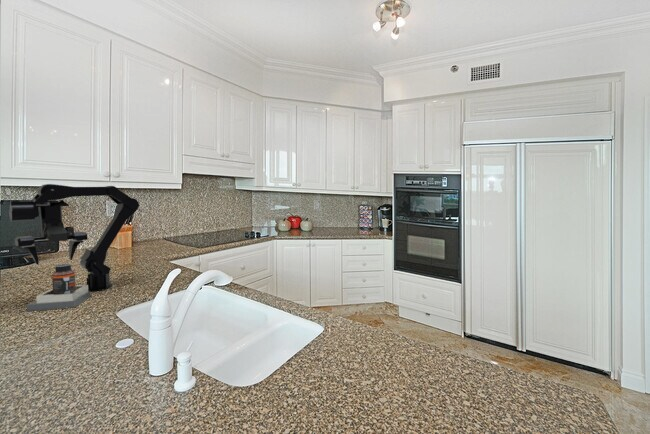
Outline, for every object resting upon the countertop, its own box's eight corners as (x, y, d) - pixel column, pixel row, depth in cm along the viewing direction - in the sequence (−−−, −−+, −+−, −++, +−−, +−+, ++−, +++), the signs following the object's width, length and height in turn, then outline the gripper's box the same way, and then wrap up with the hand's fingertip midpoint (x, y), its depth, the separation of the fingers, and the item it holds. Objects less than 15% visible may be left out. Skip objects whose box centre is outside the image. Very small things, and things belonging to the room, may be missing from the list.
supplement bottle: (74, 298, 103) (71, 266, 102) (51, 301, 100) (48, 268, 99) (78, 293, 108) (75, 262, 107) (56, 296, 105) (54, 264, 105)
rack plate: (91, 296, 111) (90, 284, 111) (74, 307, 100) (73, 294, 100) (49, 299, 108) (48, 287, 108) (27, 311, 97) (25, 297, 97)
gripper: (19, 222, 96) (23, 271, 97) (91, 218, 111) (93, 260, 112) (12, 220, 102) (16, 265, 103) (81, 217, 117) (83, 256, 118)
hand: (54, 262), depth 109 cm, fingers open, 9 cm apart
